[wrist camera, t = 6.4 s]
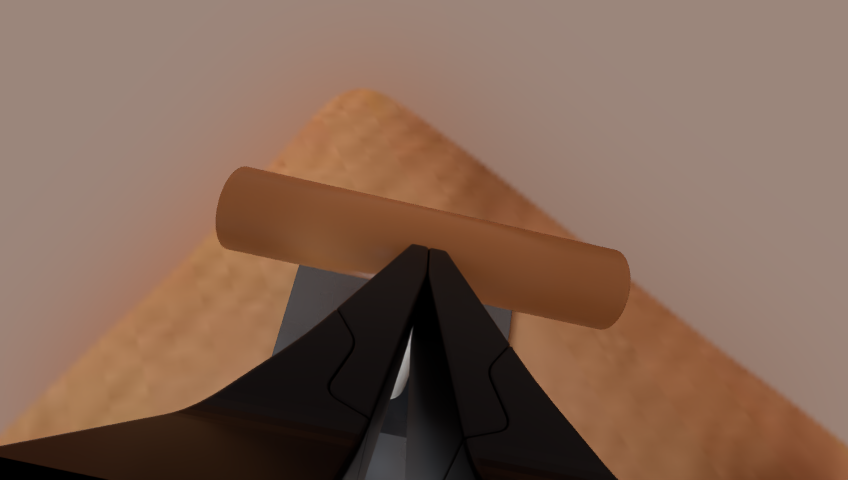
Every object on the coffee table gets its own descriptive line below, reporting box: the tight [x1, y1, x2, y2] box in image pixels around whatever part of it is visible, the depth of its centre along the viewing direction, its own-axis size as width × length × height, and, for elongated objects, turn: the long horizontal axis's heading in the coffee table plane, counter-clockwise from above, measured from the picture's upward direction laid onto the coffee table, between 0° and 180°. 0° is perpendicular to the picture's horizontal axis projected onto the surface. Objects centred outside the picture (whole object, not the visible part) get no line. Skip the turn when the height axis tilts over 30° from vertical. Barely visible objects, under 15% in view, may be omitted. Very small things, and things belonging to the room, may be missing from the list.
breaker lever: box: [216, 167, 630, 399], centre depth 13 cm, size 2×10×10 cm, turn 78°
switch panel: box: [272, 265, 512, 480], centre depth 17 cm, size 16×12×6 cm
